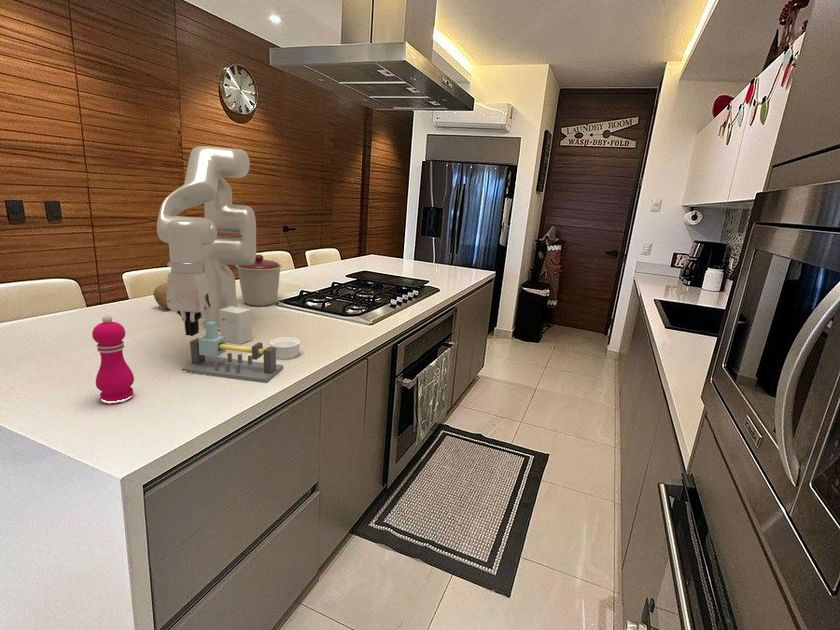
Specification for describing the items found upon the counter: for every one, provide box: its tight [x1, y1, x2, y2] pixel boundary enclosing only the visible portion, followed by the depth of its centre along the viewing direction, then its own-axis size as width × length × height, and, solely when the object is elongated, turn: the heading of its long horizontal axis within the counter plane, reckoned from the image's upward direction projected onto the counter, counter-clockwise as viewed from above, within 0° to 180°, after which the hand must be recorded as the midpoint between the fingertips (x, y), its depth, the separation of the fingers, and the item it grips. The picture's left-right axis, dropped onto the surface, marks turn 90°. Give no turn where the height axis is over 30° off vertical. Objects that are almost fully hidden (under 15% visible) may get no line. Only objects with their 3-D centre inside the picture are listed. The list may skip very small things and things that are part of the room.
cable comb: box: [181, 337, 284, 384], centre depth 119 cm, size 24×10×8 cm, turn 82°
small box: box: [219, 306, 253, 345], centre depth 141 cm, size 8×6×10 cm
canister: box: [235, 253, 282, 307], centre depth 184 cm, size 18×18×21 cm
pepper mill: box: [91, 315, 135, 401], centre depth 98 cm, size 7×7×20 cm
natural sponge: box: [153, 283, 170, 310], centre depth 169 cm, size 9×9×10 cm
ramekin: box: [269, 336, 301, 360], centre depth 133 cm, size 9×9×4 cm
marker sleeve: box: [198, 321, 227, 357], centre depth 118 cm, size 5×4×9 cm
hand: (192, 334), depth 119 cm, fingers closed
